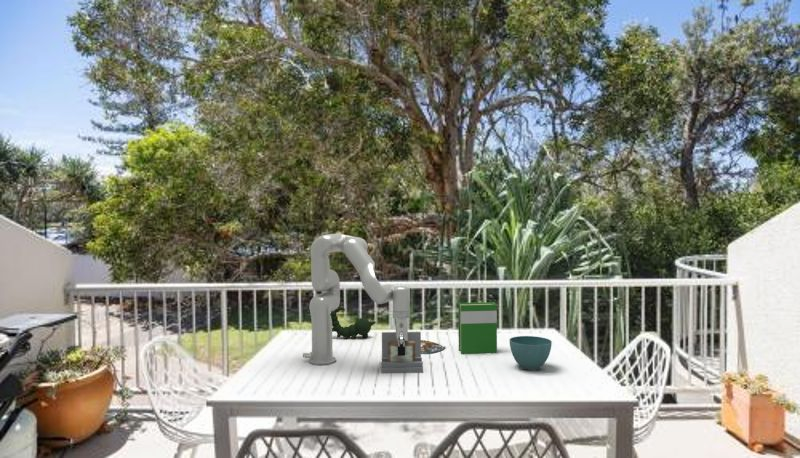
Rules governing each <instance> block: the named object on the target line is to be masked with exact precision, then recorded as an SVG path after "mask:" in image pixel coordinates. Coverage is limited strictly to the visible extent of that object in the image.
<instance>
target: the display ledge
mask: <svg viewBox="0 0 800 458" xmlns="http://www.w3.org/2000/svg"><path fill="white" fill-rule="evenodd" d="M421 333H422V332H421V331H408V341H415V361H413V362H388V341H397V338H396V331H382V332H381V362H380V363H381V365H380V366H381V367H380V369H381V374H402V373H403V374H405V373H406V374H407V373H408V374H411V373H413V374H415V373H416V374H417V373H418V374H419V373H424V365H423V363H424V362H423V361H422V360H423V358H422V354H421V346H422V345H421V340H422V337H421V336H422V334H421ZM404 340H405V339H404ZM405 341H406V340H405Z"/></svg>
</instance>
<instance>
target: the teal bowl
mask: <svg viewBox="0 0 800 458" xmlns="http://www.w3.org/2000/svg"><path fill="white" fill-rule="evenodd" d="M508 342H509V347H510V351H511V354H512V357H513V359H514V360H515V362H516V364H517V365H518V366H519V367H520V368H521V369H522V368H523V369H522V370H526V369H528V370H527V371H538V370H540V369H541V368H542V367H543V366H544V365H545V363H546V362H547V360H548V359H549V356H550V353H551V349H552V344H553V341H552V340H551V339H549V338H548V337H547V338H546V337H541V336H533V335H519V336H513V337H511V338H509V341H508ZM537 369H538V370H537Z"/></svg>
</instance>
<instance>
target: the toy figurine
mask: <svg viewBox="0 0 800 458" xmlns="http://www.w3.org/2000/svg"><path fill="white" fill-rule="evenodd" d="M340 311H345V312H346V309H345V308H344V307H343V306H338V308H337V309H336V310H334V311H332V312H330V316H331V320H332V333H335V332H336V334H337V335H336V337H337V338H341V337H343V338H344V339H345V340H348V339H349V338H350V337H351V338H352V339H356V338H357V336H358V335H359V336H362V338H363V339H368V337H369V334H368V333H370V332H371V329H372V326H374V325H375V324H376V323H377V321H374V320H373V321H371V320H368V319H367V318H366V317H361V318H357V320H355V321H354V323H352V324H349V325H348V326H342V325H341V324H340V321H339V318H338V315H337V313H339V312H340Z"/></svg>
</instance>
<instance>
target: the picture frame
mask: <svg viewBox="0 0 800 458" xmlns="http://www.w3.org/2000/svg"><path fill="white" fill-rule="evenodd" d="M404 342H405V356H398V341H388V362H413V361H415V341H404ZM399 345H400V344H399Z"/></svg>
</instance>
